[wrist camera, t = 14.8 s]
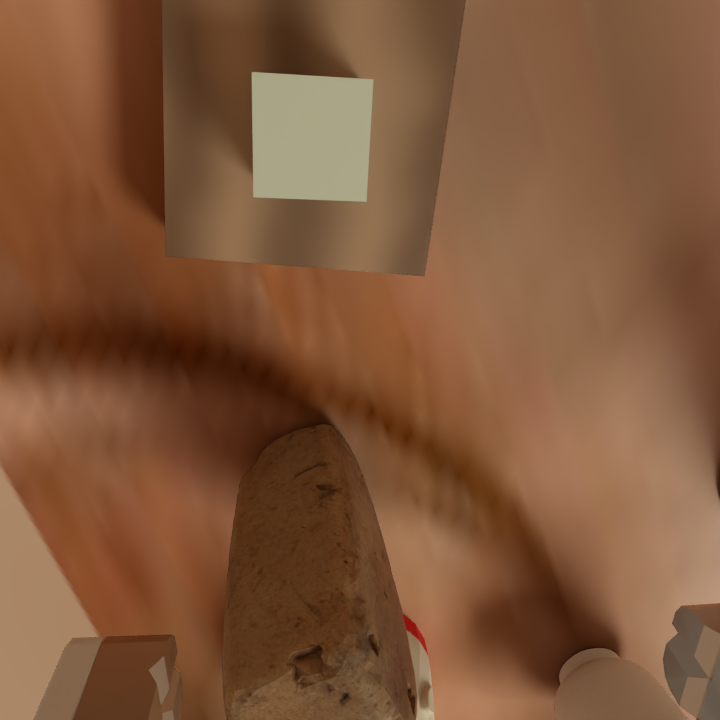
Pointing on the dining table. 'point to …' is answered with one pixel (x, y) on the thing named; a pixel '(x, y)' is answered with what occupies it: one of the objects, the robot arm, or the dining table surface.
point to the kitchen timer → (420, 671)
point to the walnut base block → (314, 58)
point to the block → (312, 592)
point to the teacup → (610, 690)
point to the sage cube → (311, 136)
